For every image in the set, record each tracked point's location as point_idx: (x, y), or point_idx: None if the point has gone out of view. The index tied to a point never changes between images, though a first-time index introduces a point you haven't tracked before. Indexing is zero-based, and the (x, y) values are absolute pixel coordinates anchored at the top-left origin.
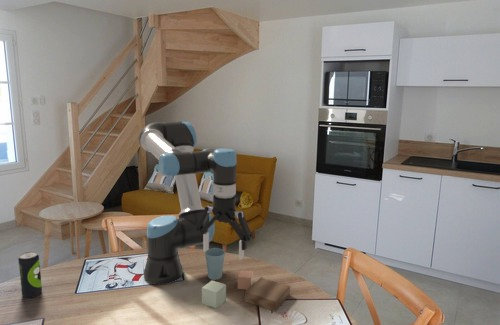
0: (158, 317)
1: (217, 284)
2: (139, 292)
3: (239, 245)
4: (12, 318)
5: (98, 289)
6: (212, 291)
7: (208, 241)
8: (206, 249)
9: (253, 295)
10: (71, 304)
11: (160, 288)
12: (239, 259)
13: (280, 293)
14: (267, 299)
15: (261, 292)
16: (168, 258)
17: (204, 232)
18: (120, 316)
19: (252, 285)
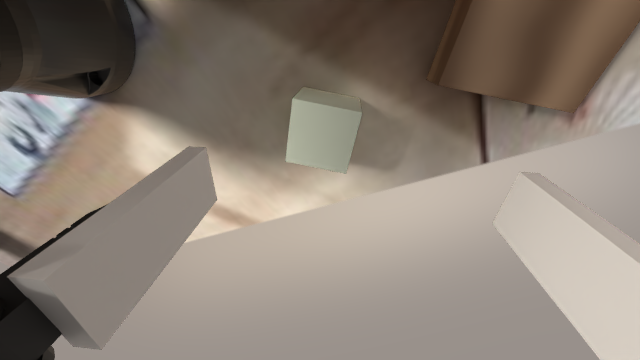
0: (237, 219)
1: (328, 123)
2: (112, 148)
3: (593, 346)
4: None
5: (26, 169)
6: (330, 170)
7: (163, 192)
8: (207, 188)
9: (475, 92)
10: (58, 228)
11: (137, 109)
12: (498, 225)
13: (615, 37)
14: (537, 105)
15: (515, 64)
16: (9, 61)
17: (42, 345)
18: None
19: (469, 14)
